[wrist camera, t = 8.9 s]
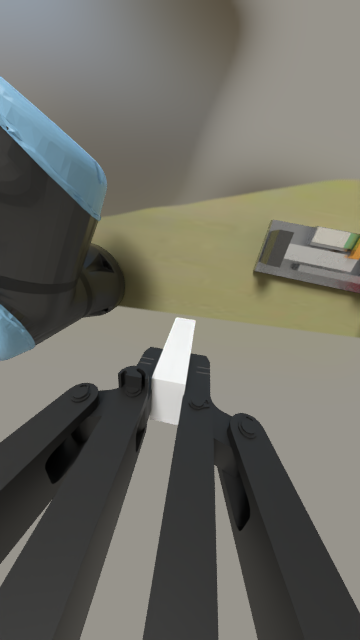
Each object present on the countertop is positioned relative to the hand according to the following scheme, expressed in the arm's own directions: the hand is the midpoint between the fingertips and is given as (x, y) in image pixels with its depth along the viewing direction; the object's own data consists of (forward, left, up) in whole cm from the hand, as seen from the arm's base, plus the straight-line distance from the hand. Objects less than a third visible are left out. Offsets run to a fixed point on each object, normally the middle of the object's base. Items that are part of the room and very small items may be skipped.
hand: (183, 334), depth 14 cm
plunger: (+16, +9, -21) cm, 28 cm away
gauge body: (+19, +8, -23) cm, 31 cm away
